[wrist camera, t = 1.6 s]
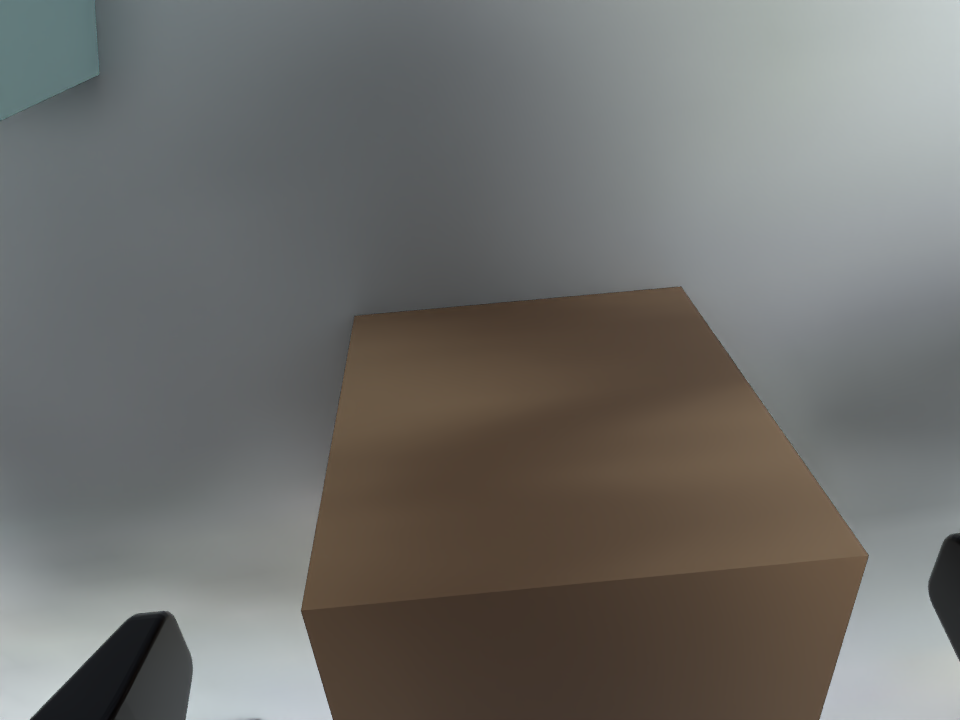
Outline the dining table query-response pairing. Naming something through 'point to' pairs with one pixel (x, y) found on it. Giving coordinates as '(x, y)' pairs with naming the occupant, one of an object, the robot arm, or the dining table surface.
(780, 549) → the walnut block
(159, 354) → the dining table surface
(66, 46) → the teal block
